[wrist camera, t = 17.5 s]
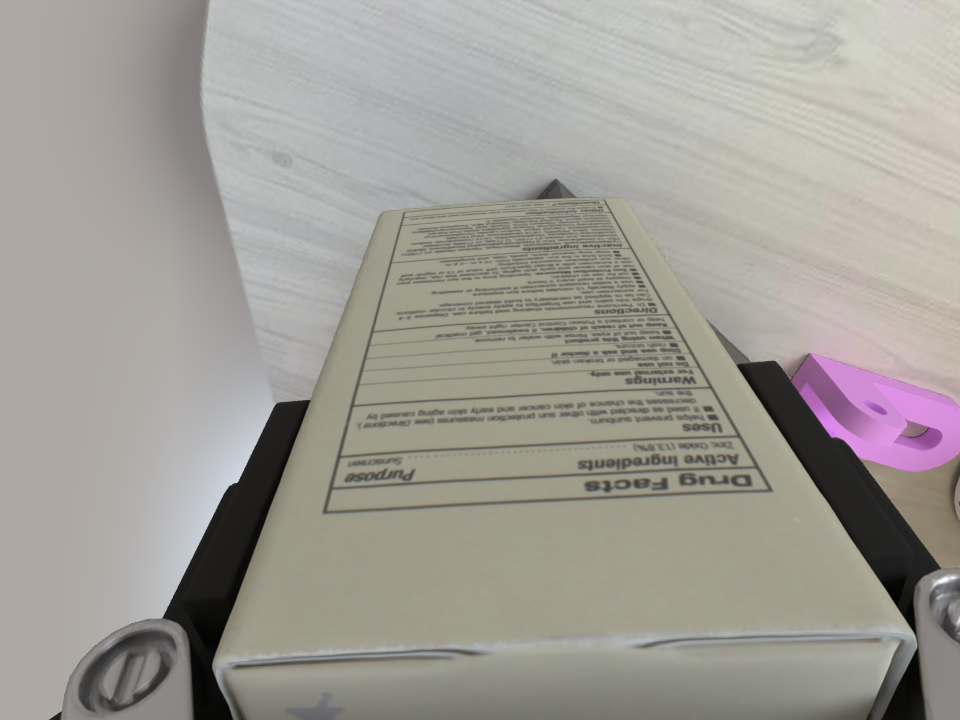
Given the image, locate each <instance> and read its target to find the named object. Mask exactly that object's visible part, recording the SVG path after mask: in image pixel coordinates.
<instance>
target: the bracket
mask: <svg viewBox="0 0 960 720" xmlns="http://www.w3.org/2000/svg"><path fill="white" fill-rule="evenodd" d="M791 382H792V383H793V385H794V386H795V388H796V389H797V390H798V392H799V393H800V395H801V396H802V397H803V399H804V400H805V401H806V403H807V404H808V406H809V407H810V408H811V410H812V411H813V413H814V414H815V415H816V417H817V418H818V419H819V421H820V422H821V424H822V425H823V426H824V428H825V429H826V431H827V432H828V433H829V435H830V436H831V437H832V438H833V437H838V438H840V439H843V440H844V441H845V442H846V443H847V444H848V445H849V446H850V447H851V448H852V450H853V451H854V452H855V454H856V455H857V457H859V458H862V459H865V460H869V461H872V462H876V463H879V464H882V465H886V466H889V467H893V468H896V469H899V470H903V471H909V472H918V471H925V470H930V469H933V468H936V467H938V466H941V465H943V464H945V463H947V462H948V461H950V460H952V459H953V458H954V457H956V456H957V455H958V454H959V453H960V407H959V406H958V405H957V404H956V403H955V402H954V401H952V400H951V399H950V398H948V397H946V396H943V395H940V394H937V393H934V392H930V391H927V390H924V389H921V388H918V387H915V386H912V385H908V384H905V383H902V382H899V381H896V380H893V379H890V378H886V377H883V376H880V375H877V374H874V373H871V372H868V371H864V370H861V369H858V368H855V367H852V366H849V365H846V364H842V363H839V362H836V361H833V360H830V359H827V358H824V357H820V356H817V355H814V354H811V353H810V354H809V355H808V357H807V358H806V360H805V361H804V363H803V364H802V365H801V367H800V368H799V370H798V371H797V373H796V374H795V375H794V377H793V378H792V380H791ZM906 420H908V421H911V422H915V423H918V424H921V425H924V426H928V427H930V428H929V429H928V431H927V432H926V433H924V434H923V435H921V436H919V437H915V438H908V437H905V436H901V435H900V434H901V433H902V432H903V431H904V429H905V428H906V427H907V421H906Z"/></svg>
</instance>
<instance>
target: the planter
mask: <svg viewBox="0 0 960 720" xmlns="http://www.w3.org/2000/svg"><path fill="white" fill-rule="evenodd" d="M954 504H955V509H956V514H957V517H958V519H959V521H960V476H959V478H958V482H957V486H956V489H955V503H954Z"/></svg>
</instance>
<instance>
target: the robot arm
mask: <svg viewBox="0 0 960 720" xmlns="http://www.w3.org/2000/svg"><path fill="white" fill-rule="evenodd" d="M736 366H737V367H738V369H739V371H740V372H741V374H742V375H743V377H744V378H745V380H746V381H747V383H748V384H749V386H750V387H751V389H752V390H753V392H754V393H755V395H756V396H757V398H758V399H759V401H760V402H761V404H762V405H763V407H764V409H765V410H766V412H767V413H768V415H769V416H770V418H771V419H772V421H773V422H774V424H775V425H776V427H777V428H778V430H779V431H780V433H781V434H782V436H783V437H784V439H785V440H786V442H787V443H788V445H789V446H790V448H791V449H792V451H793V452H794V454H795V455H796V457H797V458H798V460H799V461H800V463H801V464H802V466H803V467H804V469H805V470H806V472H807V473H808V475H809V476H810V478H811V479H812V481H813V483H814V484H815V486H816V487H817V489H818V490H819V492H820V493H821V494H822V496H823V497H824V498H825V500H826V501H827V502H828V504H829V505H830V507H831V509H832V510H833V512H834V513H835V515H836V516H837V518H838V520H839V521H840V523H841V524H842V526H843V527H844V529H845V531H846V532H847V534H848V535H849V537H850V538H851V540H852V541H853V543H854V544H855V546H856V547H857V549H858V550H859V552H860V553H861V555H862V556H863V557H864V559H865V560H866V562H867V563H868V565H869V566H870V568H871V569H872V571H873V572H874V574H875V575H876V577H877V578H878V579H879V581H880V582H881V584H882V585H883V587H884V588H885V590H886V591H887V593H888V594H889V596H890V597H891V599H892V601H893V602H894V604H895V605H896V607H897V608H898V610H899V611H900V613H901V614H902V616H903V617H904V619H905V620H906V622H907V623H908V625H909V626H910V628H911V629H912V631H913V633H914V635H915V637H916V641H917V649H916V651H915V652H914V654H913V656H912V658H911V660H910V662H909V664H908V666H907V668H906V670H905V672H904V674H903V676H902V678H901V680H900V682H899V684H898V686H897V688H896V690H895V692H894V694H893V696H892V698H891V700H890V702H889V705H888V707H887V709H886V711H885V713H884V715H883V717H882V719H881V720H960V568H950V569H941V568H940V566H939V565H938V564H937V562H936V561H935V560H934V558H933V557H932V556H931V554H930V553H929V552H928V550H927V549H926V548H925V546H924V545H923V544H922V542H921V541H920V540H919V538H918V537H917V536H916V534H915V533H914V532H913V530H912V529H911V528H910V526H909V525H908V523H907V522H906V521H905V519H904V518H903V517H902V515H901V514H900V513H899V511H898V510H897V509H896V507H895V506H894V505H893V503H892V502H891V501H890V499H889V498H888V497H887V495H886V494H885V493H884V491H883V490H882V489H881V487H880V486H879V485H878V483H877V482H876V481H875V479H874V478H873V477H872V475H871V474H870V473H869V471H868V470H867V469H866V467H865V466H864V465H863V463H862V462H861V461H860V459H859V458H858V457H857V455H856V454H855V452H854V451H853V450H852V448H851V447H850V446H849V445H848V444H847V443H846V442H845V441H844V440H843V439H840V438H838V437H833V438H832V437H831V436H830V435H829V433H828V432H827V431H826V429H825V428H824V426H823V425H822V424H821V422H820V421H819V419H818V418H817V417H816V415H815V414H814V413H813V411H812V410H811V408H810V407H809V406H808V404H807V403H806V401H805V400H804V399H803V397H802V396H801V395H800V393H799V392H798V390H797V389H796V388H795V386H794V385H793V383H792V382H791V381H790V379H789V378H788V377H787V375H786V374H785V372H784V371H783V370H782V368H781V367H780V365H779V364H778V363H777V362H776V361H765V362H753V363H741V364H738V365H736ZM310 401H311V400H302V401H291V402H279V403H277V404H276V405H275V407H274V408H273V411H272V413H271V415H270V417H269V419H268V421H267V423H266V425H265V427H264V429H263V432H262V434H261V436H260V438H259V440H258V442H257V444H256V446H255V448H254V450H253V452H252V454H251V456H250V458H249V461H248V463H247V465H246V467H245V469H244V471H243V473H242V475H241V477H240V479H239V481H238V483H234V484H232V485H231V486H229V487H228V489H227V490H226V492H225V493H224V495H223V497H222V499H221V501H220V503H219V505H218V507H217V509H216V511H215V513H214V515H213V517H212V519H211V521H210V523H209V525H208V527H207V529H206V531H205V533H204V536H203V538H202V540H201V541H200V543H199V545H198V547H197V550H196V551H195V554H194V556H193V558H192V560H191V562H190V564H189V566H188V568H187V570H186V572H185V574H184V576H183V578H182V580H181V582H180V584H179V586H178V588H177V590H176V592H175V594H174V596H173V598H172V600H171V602H170V604H169V606H168V608H167V610H166V612H165V614H164V616H163V618H162V619H146V620H143V621H139V622H135V623H131V624H129V625H127V626H125V627H123V628H121V629H119V630H117V631H115V632H113V633H111V634H110V635H109V636H107V637H106V638H105V639H103V640H102V641H100V642H99V643H98V644H97V645H95V646H94V647H93V648H92V649H91V650H90V651H89V652H88V653H87V654H86V655H85V656H84V657H83V658H82V659H81V661H80V662H79V664H78V665H77V667H76V668H75V670H74V672H73V673H72V675H71V676H70V678H69V681H68V684H67V687H66V691H65V694H64V700H63V708H62V711H61V712H60V713H58V714H57V715H55V716H54V717H52V718H51V719H50V720H233V718H232V714H231V711H230V708H229V705H228V703H227V701H226V699H225V697H224V695H223V693H222V692H221V690H220V687H219V685H218V683H217V680H216V677H215V675H214V672H213V668H212V665H213V660H214V657H215V654H216V651H217V649H218V646H219V643H220V640H221V638H222V635H223V632H224V629H225V627H226V624H227V622H228V620H229V617H230V615H231V612H232V610H233V607H234V605H235V602H236V599H237V597H238V594H239V591H240V588H241V586H242V583H243V580H244V578H245V575H246V572H247V570H248V567H249V564H250V562H251V559H252V556H253V553H254V551H255V548H256V545H257V543H258V540H259V537H260V534H261V532H262V529H263V526H264V524H265V521H266V518H267V515H268V513H269V510H270V507H271V505H272V502H273V500H274V497H275V494H276V492H277V489H278V487H279V484H280V481H281V478H282V475H283V473H284V470H285V467H286V465H287V462H288V459H289V457H290V454H291V451H292V449H293V446H294V443H295V440H296V438H297V435H298V433H299V431H300V428H301V425H302V423H303V420H304V417H305V414H306V412H307V409H308V406H309V404H310Z"/></svg>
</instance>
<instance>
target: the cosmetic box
mask: <svg viewBox="0 0 960 720" xmlns="http://www.w3.org/2000/svg"><path fill="white" fill-rule="evenodd" d="M916 649H917V641H916V637H915V635H914V633H913V631H912V629H911V628H910V626H909V625H908V623H907V622H906V620H905V619H904V617H903V616H902V614H901V613H900V611H899V610H898V608H897V607H896V605H895V604H894V602H893V601H892V599H891V597H890V596H889V594H888V593H887V591H886V590H885V588H884V587H883V585H882V584H881V582H880V581H879V579H878V578H877V577H876V575H875V574H874V572H873V571H872V569H871V568H870V566H869V565H868V563H867V562H866V560H865V559H864V557H863V556H862V555H861V553H860V552H859V550H858V549H857V547H856V546H855V544H854V543H853V541H852V540H851V538H850V537H849V535H848V534H847V532H846V531H845V529H844V527H843V526H842V524H841V523H840V521H839V520H838V518H837V516H836V515H835V513H834V512H833V510H832V509H831V507H830V505H829V504H828V502H827V501H826V500H825V498H824V497H823V496H822V494H821V493H820V492H819V490H818V489H817V487H816V486H815V484H814V483H813V481H812V479H811V478H810V476H809V475H808V473H807V472H806V470H805V469H804V467H803V466H802V464H801V463H800V461H799V460H798V458H797V457H796V455H795V454H794V452H793V451H792V449H791V448H790V446H789V445H788V443H787V442H786V440H785V439H784V437H783V436H782V434H781V433H780V431H779V430H778V428H777V427H776V425H775V424H774V422H773V421H772V419H771V418H770V416H769V415H768V413H767V412H766V410H765V409H764V407H763V405H762V404H761V402H760V401H759V399H758V398H757V396H756V395H755V393H754V392H753V390H752V389H751V387H750V386H749V384H748V383H747V381H746V380H745V378H744V377H743V375H742V374H741V372H740V371H739V369H738V367H737V366H736V364H735V363H734V361H733V360H732V358H731V357H730V355H729V354H728V353H727V351H726V350H725V348H724V347H723V345H722V344H721V342H720V340H719V339H718V337H717V336H716V334H715V333H714V331H713V330H712V328H711V327H710V325H709V324H708V322H707V321H706V319H705V317H704V316H703V314H702V313H701V311H700V310H699V309H698V307H697V306H696V304H695V303H694V301H693V300H692V298H691V297H690V295H689V294H688V292H687V291H686V289H685V288H684V287H683V285H682V283H681V282H680V280H679V279H678V277H677V276H676V274H675V273H674V271H673V270H672V268H671V266H670V265H669V263H668V262H667V260H666V259H665V257H664V256H663V254H662V252H661V251H660V249H659V248H658V246H657V245H656V244H655V242H654V241H653V239H652V238H651V236H650V235H649V233H648V232H647V230H646V229H645V227H644V226H643V224H642V222H641V221H640V219H639V218H638V216H637V215H636V213H635V212H634V210H633V208H632V207H631V206H630V204H629V202H628V201H627V200H625V199H624V198H620V197H604V198H565V199H541V200H521V201H506V202H490V203H474V204H461V205H448V206H436V207H425V208H414V209H405V210H392V211H385V212H383V213H381V214H380V216H379V218H378V220H377V223H376V226H375V229H374V231H373V234H372V237H371V240H370V241H369V245H368V248H367V250H366V253H365V255H364V258H363V261H362V264H361V266H360V269H359V271H358V274H357V276H356V279H355V282H354V285H353V288H352V290H351V293H350V296H349V298H348V301H347V303H346V306H345V309H344V312H343V314H342V317H341V319H340V322H339V325H338V328H337V331H336V333H335V336H334V338H333V341H332V344H331V347H330V349H329V352H328V355H327V357H326V359H325V362H324V365H323V368H322V371H321V373H320V375H319V378H318V381H317V384H316V386H315V389H314V392H313V395H312V398H311V401H310V404H309V406H308V409H307V412H306V414H305V417H304V420H303V423H302V425H301V428H300V431H299V433H298V435H297V438H296V440H295V443H294V446H293V449H292V451H291V454H290V457H289V459H288V462H287V465H286V467H285V470H284V473H283V475H282V478H281V481H280V484H279V487H278V489H277V492H276V494H275V497H274V500H273V502H272V505H271V507H270V510H269V513H268V515H267V518H266V521H265V524H264V526H263V529H262V532H261V534H260V537H259V540H258V543H257V545H256V548H255V551H254V553H253V556H252V559H251V562H250V564H249V567H248V570H247V572H246V575H245V578H244V580H243V583H242V586H241V588H240V591H239V594H238V597H237V599H236V602H235V605H234V607H233V610H232V612H231V615H230V617H229V620H228V622H227V624H226V627H225V629H224V632H223V635H222V638H221V640H220V643H219V646H218V649H217V651H216V654H215V657H214V660H213V665H212V668H213V672H214V675H215V677H216V680H217V683H218V685H219V687H220V690H221V692H222V693H223V695H224V697H225V699H226V701H227V703H228V705H229V708H230V711H231V714H232V718H233V720H881V719H882V717H883V715H884V713H885V711H886V709H887V707H888V705H889V702H890V700H891V698H892V696H893V694H894V692H895V690H896V688H897V686H898V684H899V682H900V680H901V678H902V676H903V674H904V672H905V670H906V668H907V666H908V664H909V662H910V660H911V658H912V656H913V654H914V652H915V651H916Z"/></svg>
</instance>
